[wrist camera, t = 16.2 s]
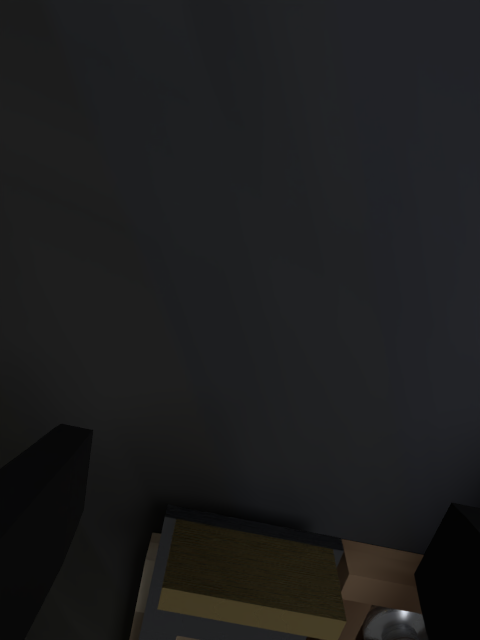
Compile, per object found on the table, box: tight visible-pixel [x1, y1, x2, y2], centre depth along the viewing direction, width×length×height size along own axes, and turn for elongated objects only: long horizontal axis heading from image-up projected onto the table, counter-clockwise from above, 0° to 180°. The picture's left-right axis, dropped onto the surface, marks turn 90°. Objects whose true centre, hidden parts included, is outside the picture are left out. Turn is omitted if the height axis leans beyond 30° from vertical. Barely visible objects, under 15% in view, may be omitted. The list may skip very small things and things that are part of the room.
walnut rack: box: [306, 539, 424, 640], centre depth 24 cm, size 8×8×2 cm
